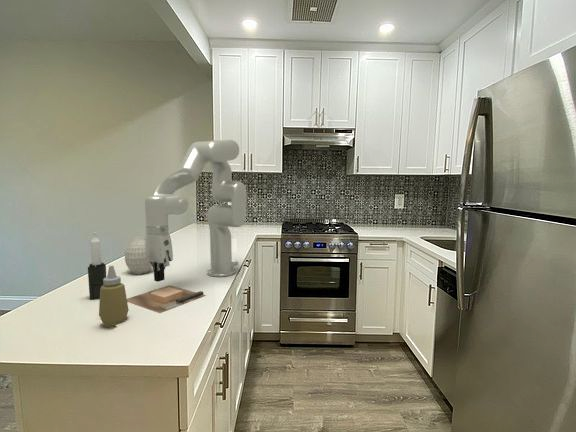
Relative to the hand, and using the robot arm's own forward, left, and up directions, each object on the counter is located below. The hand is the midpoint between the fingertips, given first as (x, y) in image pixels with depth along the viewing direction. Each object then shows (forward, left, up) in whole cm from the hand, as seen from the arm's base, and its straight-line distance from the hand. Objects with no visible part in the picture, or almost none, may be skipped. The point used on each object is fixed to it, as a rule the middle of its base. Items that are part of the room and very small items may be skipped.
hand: (159, 280), depth 126 cm
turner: (-1, +11, -6) cm, 13 cm away
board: (0, +3, -7) cm, 8 cm away
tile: (0, 0, -5) cm, 5 cm away
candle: (+13, -17, -7) cm, 23 cm away
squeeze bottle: (+21, +7, -7) cm, 23 cm away
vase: (-17, -37, -7) cm, 42 cm away
